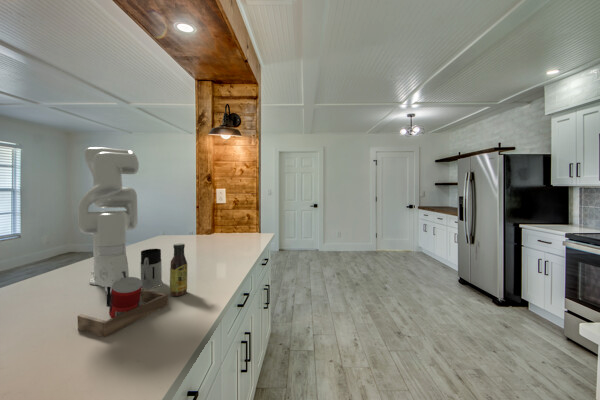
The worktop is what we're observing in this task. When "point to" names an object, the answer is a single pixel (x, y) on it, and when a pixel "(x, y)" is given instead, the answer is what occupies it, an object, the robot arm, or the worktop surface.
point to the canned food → (125, 295)
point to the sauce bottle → (178, 271)
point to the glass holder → (151, 268)
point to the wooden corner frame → (124, 315)
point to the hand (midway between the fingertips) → (113, 305)
